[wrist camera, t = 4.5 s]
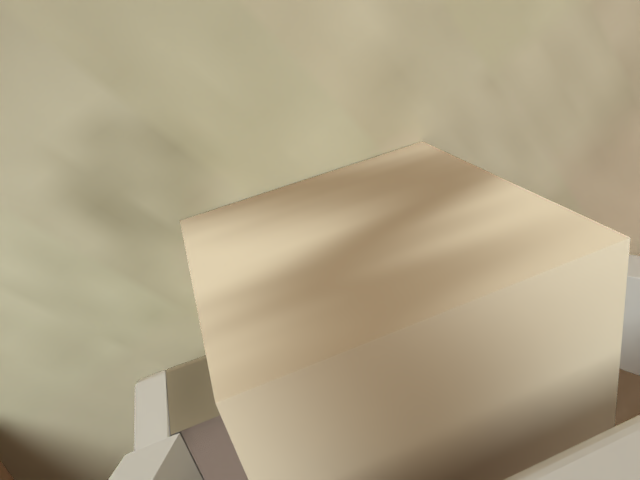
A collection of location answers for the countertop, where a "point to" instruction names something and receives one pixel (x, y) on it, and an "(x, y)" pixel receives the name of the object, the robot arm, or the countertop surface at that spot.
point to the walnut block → (4, 473)
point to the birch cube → (407, 322)
